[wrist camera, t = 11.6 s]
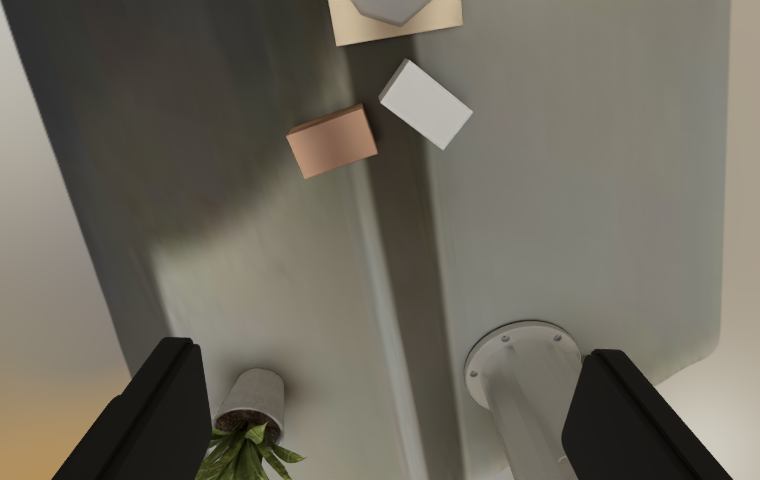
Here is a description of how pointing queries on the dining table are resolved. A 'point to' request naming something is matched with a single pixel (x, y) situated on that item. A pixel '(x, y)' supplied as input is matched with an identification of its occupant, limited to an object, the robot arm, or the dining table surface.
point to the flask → (390, 9)
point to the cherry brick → (332, 141)
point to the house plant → (249, 430)
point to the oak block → (362, 28)
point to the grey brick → (424, 104)
